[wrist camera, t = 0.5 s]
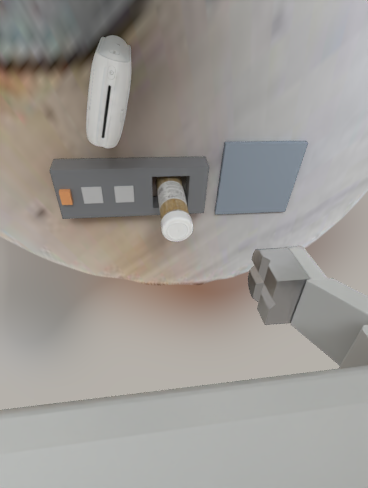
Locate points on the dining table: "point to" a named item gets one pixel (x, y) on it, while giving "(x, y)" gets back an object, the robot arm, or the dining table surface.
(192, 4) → the dining table surface
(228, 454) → the robot arm
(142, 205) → the power strip
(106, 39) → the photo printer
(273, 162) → the rubber mat
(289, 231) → the dining table surface
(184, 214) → the sprinkles bottle
